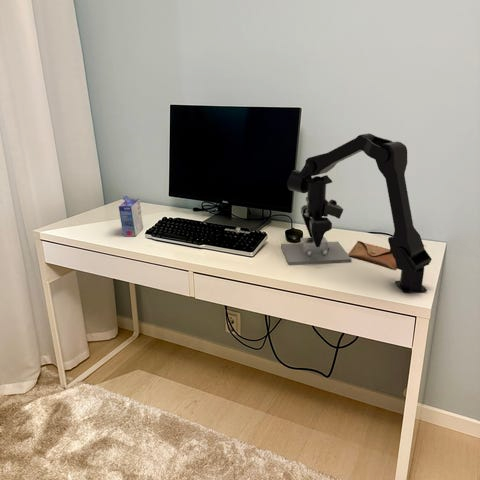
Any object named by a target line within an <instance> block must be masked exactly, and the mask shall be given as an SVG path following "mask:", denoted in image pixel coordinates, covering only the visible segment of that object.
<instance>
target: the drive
mask: <svg viewBox="0 0 480 480" xmlns="http://www.w3.org/2000/svg"><path fill="white" fill-rule="evenodd" d="M328 242H329V241H328V240H327V239H326V237H325V236H323V239H322V241H321V244H320V247H316V245H315V242H314V239H313V237H310V236H309V237H300V243H301V248H300V249H301V251H302V253H303V255H307V254H308V251H311V254H323V251H324V250H326V251H327V254H328V251H329V247H328Z"/></svg>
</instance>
